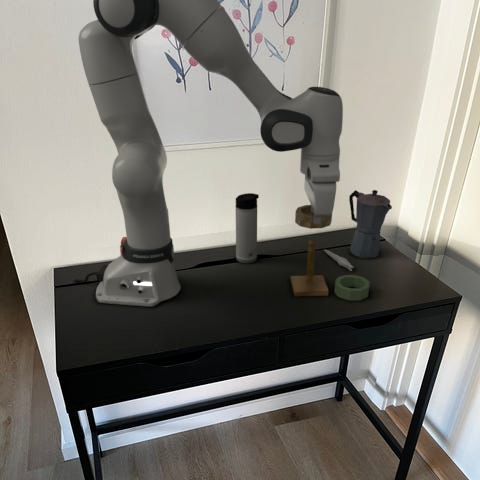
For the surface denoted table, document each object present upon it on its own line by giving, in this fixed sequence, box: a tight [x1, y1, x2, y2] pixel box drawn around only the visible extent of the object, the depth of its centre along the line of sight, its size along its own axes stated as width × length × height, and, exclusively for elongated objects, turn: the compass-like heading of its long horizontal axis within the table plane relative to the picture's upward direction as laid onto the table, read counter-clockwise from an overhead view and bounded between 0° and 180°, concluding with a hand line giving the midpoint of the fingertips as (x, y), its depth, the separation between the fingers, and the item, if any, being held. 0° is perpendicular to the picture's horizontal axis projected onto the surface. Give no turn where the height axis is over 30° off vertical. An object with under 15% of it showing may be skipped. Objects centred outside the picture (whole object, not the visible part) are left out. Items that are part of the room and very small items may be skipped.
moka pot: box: [348, 189, 393, 260], centre depth 154 cm, size 10×15×20 cm, turn 42°
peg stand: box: [289, 239, 330, 297], centre depth 137 cm, size 9×9×14 cm
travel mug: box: [234, 192, 260, 264], centre depth 151 cm, size 6×7×20 cm
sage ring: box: [333, 274, 371, 302], centre depth 137 cm, size 9×9×3 cm
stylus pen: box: [324, 249, 355, 272], centre depth 154 cm, size 15×3×2 cm, turn 25°
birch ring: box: [294, 204, 333, 230], centre depth 129 cm, size 9×9×3 cm
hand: (315, 221), depth 126 cm, fingers closed on birch ring
